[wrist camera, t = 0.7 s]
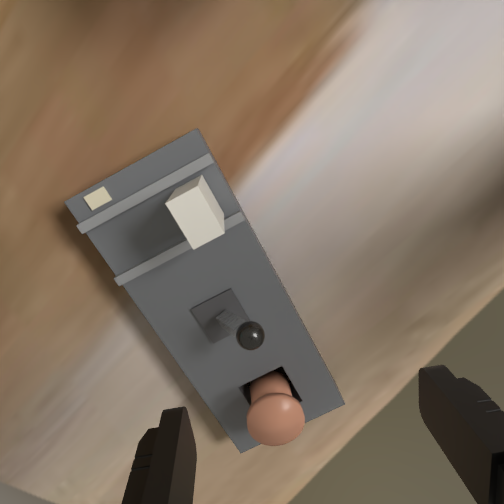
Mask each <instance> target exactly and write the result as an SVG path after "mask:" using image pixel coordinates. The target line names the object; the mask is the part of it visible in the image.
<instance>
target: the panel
mask: <svg viewBox="0 0 504 504" xmlns="http://www.w3.org/2000/svg"><path fill="white" fill-rule="evenodd" d="M200 175H203V177H204V179H205V181H206V183H207V184H208V186H209V188H210V190H211V192H212V193H213V195H214V197H215V199H216V201H217V202H218V204H219V206H220V208H221V209H222V211H223V213H224V229H225V233H224V234H223V235H221V236H219V237H217V238H215V239H213V240H211V241H209V242H207V243H205V244H204V245H202V246H200V247H198V248H196V249H194V250H193V248H192V247H191V245H190V243H189V242H188V240H187V238H186V237H185V235H184V233H183V232H182V230H181V229H180V227H179V225H178V224H177V222H176V220H175V219H174V217H173V215H172V214H171V212H170V210H169V209H168V207H167V206H166V204H165V203H166V202H167V200H168V199H169V197H170V196H171V195H172V193H173V192H174V190H175V189H176V188H178V187H180V186H182V185H184V184H185V183H187V182H189V181H191V180H193V179H195V178H196V177H198V176H200ZM64 203H65V204H66V205H67V207H68V208H69V210H70V211H71V213H72V214H73V215H74V217H75V218H76V220H77V221H78V223H79V224H78V225H76V226H77V228H78V229H79V230H80V232H81V233H82V234H83V233H85V232H86V234H87V235H88V237H89V238H90V240H91V241H92V242H93V244H94V245H95V247H96V248H97V250H98V251H99V252H100V254H101V255H102V257H103V258H104V259H105V261H106V262H107V264H108V265H109V267H110V268H111V269H112V271H113V272H114V274H115V275H116V276H115V278H114V280H115V281H116V283H117V284H118V286H121V285H123V286H124V288H125V289H126V291H127V292H128V294H129V295H130V296H131V298H132V299H133V301H134V302H135V304H136V305H137V306H138V308H139V309H140V311H141V312H142V313H143V315H144V316H145V318H146V319H147V321H148V322H149V323H150V325H151V326H152V328H153V329H154V331H155V332H156V333H157V335H158V336H159V338H160V339H161V340H162V342H163V343H164V345H165V346H166V348H167V349H168V350H169V352H170V353H171V355H172V356H173V358H174V359H175V360H176V362H177V363H178V365H179V366H180V368H181V369H182V370H183V372H184V373H185V375H186V376H187V377H188V379H189V380H190V382H191V383H192V385H193V386H194V387H195V389H196V390H197V392H198V393H199V395H200V396H201V397H202V399H203V400H204V402H205V403H206V404H207V406H208V407H209V409H210V410H211V412H212V413H213V414H214V416H215V417H216V419H217V420H218V422H219V423H220V424H221V426H222V427H223V429H224V430H225V431H226V433H227V434H228V436H229V437H230V439H231V440H232V441H233V443H234V444H235V446H236V447H237V449H238V450H239V451H240V453H243V452H245V451H247V450H249V449H251V448H253V447H255V446H258V445H260V444H261V443H259V442H257V441H256V440H254V439H253V438H252V436H251V435H250V433H249V431H248V428H247V412H248V409H249V407H250V406H251V395H250V389H249V387H248V385H247V384H246V383H248V382H250V381H252V380H254V379H256V378H258V377H260V376H262V375H264V374H266V373H268V372H270V371H272V370H275V369H277V368H279V367H281V366H282V367H283V368H284V370H285V372H286V374H287V375H288V377H289V379H290V380H291V382H292V385H290V389H291V393H292V397H294V398H295V399H297V400H298V401H299V403H300V404H301V406H302V409H303V413H304V416H305V423H306V422H308V421H311V420H313V419H315V418H317V417H319V416H321V415H323V414H325V413H327V412H330V411H332V410H334V409H336V408H338V407H340V406H342V405H344V404H345V403H344V400H343V398H342V396H341V394H340V392H339V389H338V387H337V385H336V383H335V381H334V379H333V377H332V376H331V374H330V372H329V370H328V368H327V366H326V364H325V363H324V361H323V359H322V357H321V355H320V353H319V352H318V350H317V348H316V346H315V344H314V342H313V340H312V339H311V337H310V335H309V333H308V331H307V329H306V327H305V326H304V324H303V322H302V320H301V318H300V316H299V314H298V313H297V311H296V309H295V307H294V305H293V303H292V301H291V300H290V298H289V296H288V294H287V292H286V290H285V288H284V287H283V285H282V283H281V281H280V279H279V277H278V275H277V274H276V272H275V270H274V268H273V266H272V264H271V262H270V261H269V259H268V257H267V255H266V253H265V251H264V249H263V248H262V246H261V244H260V242H259V240H258V238H257V236H256V235H255V233H254V231H253V229H252V227H251V225H250V223H249V222H248V220H247V218H246V216H245V214H244V212H243V211H242V209H241V207H240V205H239V203H238V201H237V199H236V198H235V196H234V194H233V192H232V190H231V188H230V186H229V185H228V183H227V181H226V179H225V177H224V175H223V173H222V172H221V170H220V168H219V166H218V164H217V162H216V160H215V159H214V157H213V155H212V153H211V151H210V149H209V147H208V146H207V144H206V142H205V140H204V138H203V136H202V134H201V133H200V131H199V129H195V130H193V131H191V132H189V133H188V134H186V135H184V136H182V137H180V138H178V139H177V140H175V141H173V142H171V143H169V144H168V145H166V146H164V147H162V148H160V149H159V150H157V151H155V152H153V153H151V154H150V155H148V156H146V157H144V158H142V159H141V160H139V161H137V162H135V163H133V164H132V165H130V166H128V167H126V168H124V169H123V170H121V171H119V172H117V173H115V174H114V175H112V176H110V177H108V178H106V179H105V180H103V181H101V182H99V183H97V184H96V185H94V186H92V187H90V188H88V189H86V190H85V191H83V192H81V193H79V194H77V195H76V196H74V197H72V198H70V199H68V200H67V201H65V202H64ZM226 309H227V310H229V311H230V312H232V313H234V314H235V315H237V316H239V317H241V318H242V319H244V320H246V321H254V322H257V323H259V324H260V325H261V326H262V328H263V329H264V333H265V339H264V342H263V344H262V345H261V346H260V347H259V348H258V349H256V350H245V349H243V348H242V347H241V346H240V345H239V344H238V342H237V340H236V338H235V337H234V336H233V335H231V334H230V333H228V332H227V331H226V330H224V329H223V328H222V327H221V325H220V324H219V322H218V320H217V319H216V317H217V316H218V315H220V314H221V313H222V312H224V311H225V310H226Z"/></svg>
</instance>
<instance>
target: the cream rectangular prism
mask: <svg viewBox="0 0 504 504" xmlns="http://www.w3.org/2000/svg"><path fill="white" fill-rule="evenodd" d="M165 204H166V206H167V207H168V209H169V210H170V212H171V214H172V215H173V217H174V219H175V220H176V222H177V224H178V225H179V227H180V229H181V230H182V232H183V233H184V235H185V237H186V238H187V240H188V242H189V243H190V245H191V247H192V248H193V250H194V249H196V248H198V247H200V246H202V245H204V244H205V243H207V242H209V241H211V240H213V239H215V238H217V237H219V236H221V235H223V234H224V233H225V229H224V213H223V211H222V209H221V208H220V206H219V204H218V202H217V201H216V199H215V197H214V195H213V193H212V192H211V190H210V188H209V186H208V184H207V183H206V181H205V179H204V177H203V175H200V176H198V177H196V178H195V179H193V180H191V181H189V182H187V183H185V184H184V185H182V186H180V187H178V188H176V189H175V190H174V192H173V193H172V195H171V196H170V197H169V199H168V200H167V202H166V203H165Z"/></svg>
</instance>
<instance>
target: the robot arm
mask: <svg viewBox="0 0 504 504" xmlns="http://www.w3.org/2000/svg"><path fill="white" fill-rule="evenodd" d="M419 409H420V413H421V416H422V419H423V421H424V423H425V424H426V426H427V428H428V429H429V431H430V432H431V434H432V435H433V437H434V438H435V440H436V441H437V443H438V444H439V446H440V447H441V449H442V451H443V452H444V454H445V455H446V456H447V458H448V460H449V461H450V463H451V464H452V466H453V467H454V469H455V470H456V472H457V473H458V475H459V476H460V478H461V479H462V481H463V482H464V484H465V486H466V487H467V489H468V490H469V492H470V493H471V495H472V496H473V498H474V499H475V501H476V502H477V504H504V412H503V411H501V409H500V407H499V406H498V405H497V404H496V403H495V402H494V401H492V400H491V398H490V397H489V396H488V395H487V394H486V393H485V392H484V391H483V390H482V389H481V388H480V387H479V386H478V385H476V384H474V383H472V382H471V381H469V380H467V379H465V378H458V379H457V378H456V377H455V376H454V375H453V374H452V373H451V372H450V371H449V369H448V368H447V367H445V366H444V365H438V366H431V367H425V368H420V370H419ZM196 461H197V454H196V444H195V439H194V435H193V431H192V427H191V423H190V419H189V415H188V412H187V409H186V407H178V408H172V409H166V410H163V412H162V415H161V419H160V424H159V427H157V428H151V429H148V430H147V432H146V433H145V434H144V436H143V437H142V439H141V440H140V441H139V443H138V447H137V450H136V454H135V460H134V461H133V465H132V468H131V469H132V471H131V472H130V475H129V479H128V483H127V486H126V490H125V493H124V497H123V500H122V504H193V493H194V483H195V472H196Z"/></svg>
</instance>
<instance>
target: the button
mask: <svg viewBox="0 0 504 504" xmlns="http://www.w3.org/2000/svg"><path fill="white" fill-rule="evenodd" d="M250 395H251V406H250V407H249V409H248V412H247V428H248V431H249V433H250V435H251V436H252V438H253V439H254V440H256V441H257V442H259V443H261V444H264V445H269V446H278V445H283V444H286V443H288V442H290V441H292V440H294V439H295V438H296V437H297V436H298V435H299V434H300V433H301V431H302V430H303V427H304V424H305V416H304V413H303V409H302V406H301V404H300V403H299V401H298V400H297V399H295V398H294V397H292V393H291V389H290V386H289V382H288V380H287V378H286V377H285V376H284V375H283V374H281V373H279V372H276V371H270V372H268V373H266V374H264V375H262V376H260V377H258V378H256V379H254V380H252V382H251V385H250Z"/></svg>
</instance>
